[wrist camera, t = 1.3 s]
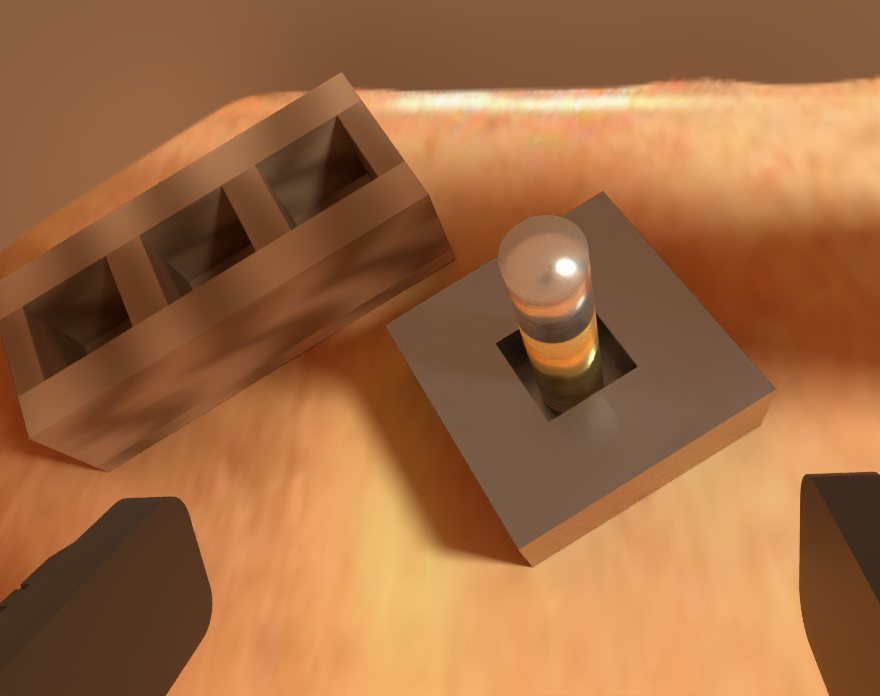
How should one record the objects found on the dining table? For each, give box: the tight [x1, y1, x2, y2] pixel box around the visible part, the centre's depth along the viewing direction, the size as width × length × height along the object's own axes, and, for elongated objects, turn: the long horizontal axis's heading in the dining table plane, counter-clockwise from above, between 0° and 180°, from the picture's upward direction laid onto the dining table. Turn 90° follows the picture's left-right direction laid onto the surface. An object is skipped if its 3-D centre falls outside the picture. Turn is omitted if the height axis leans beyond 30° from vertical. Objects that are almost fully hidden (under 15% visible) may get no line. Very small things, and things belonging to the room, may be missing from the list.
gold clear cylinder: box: [498, 215, 603, 413], centre depth 31 cm, size 3×3×12 cm
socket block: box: [385, 192, 776, 567], centre depth 35 cm, size 12×12×4 cm
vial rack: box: [0, 73, 455, 472], centre depth 41 cm, size 22×10×6 cm, turn 119°
